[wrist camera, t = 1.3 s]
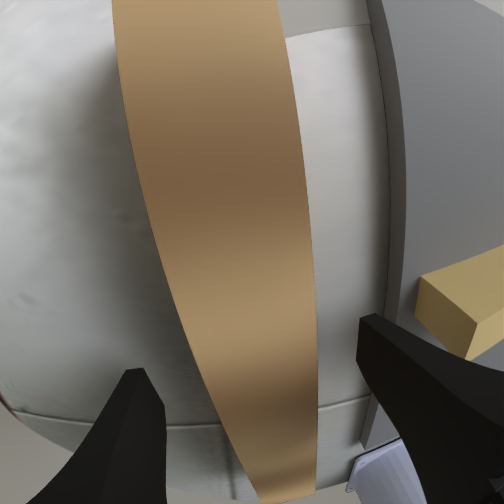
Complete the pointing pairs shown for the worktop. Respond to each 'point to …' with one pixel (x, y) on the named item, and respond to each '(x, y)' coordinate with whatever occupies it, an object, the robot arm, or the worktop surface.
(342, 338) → the worktop surface
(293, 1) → the kitchen cleaver
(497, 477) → the robot arm
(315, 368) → the oak beam
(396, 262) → the ridge stand
